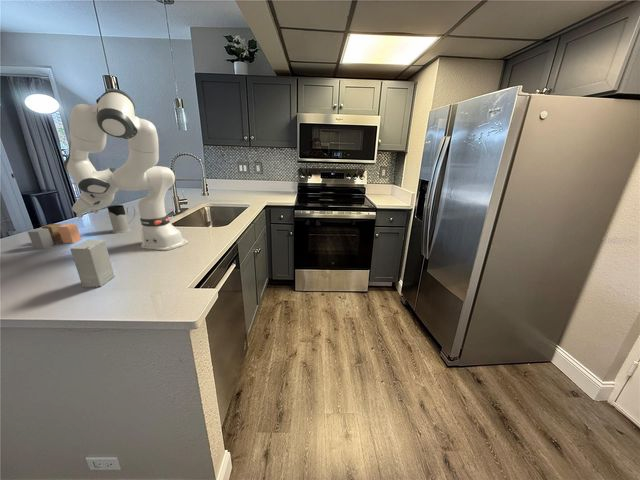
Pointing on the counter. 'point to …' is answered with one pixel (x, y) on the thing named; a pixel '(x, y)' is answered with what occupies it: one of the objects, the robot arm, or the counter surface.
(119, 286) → the counter surface
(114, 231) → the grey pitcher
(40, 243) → the grey block
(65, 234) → the terracotta block
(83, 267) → the skincare box
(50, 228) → the walnut block
